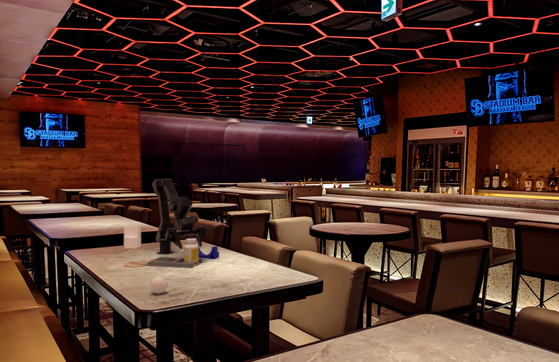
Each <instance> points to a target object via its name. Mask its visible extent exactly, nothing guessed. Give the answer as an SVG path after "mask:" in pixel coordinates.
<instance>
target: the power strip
mask: <svg viewBox="0 0 559 362" xmlns="http://www.w3.org/2000/svg"><path fill="white" fill-rule="evenodd" d="M201 263H203V258H199V264H201ZM147 267H162V268H163V267H164V268H183V269H185V268H186V269H188V268H189V269H193V268H194V267H195V266H194V263H184V257H182V256H181V257H180V256H179V257H178V256H177V257H176V256H158V257H156V258H152V259H149V261H148V265H147Z"/></svg>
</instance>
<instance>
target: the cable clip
mask: <svg viewBox="0 0 559 362" xmlns="http://www.w3.org/2000/svg"><path fill="white" fill-rule="evenodd" d="M197 245H198V246H199V244H197ZM218 250H219V247H218V246H216V245H215V246H211V251H210V252H209V253H208V254H207V253H204V252H203V251H202V250H201V247H200V246H199V258H202V259H205V260H206V259H208V260H216V259H219V258H220V251H218Z"/></svg>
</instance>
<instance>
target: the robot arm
mask: <svg viewBox="0 0 559 362" xmlns="http://www.w3.org/2000/svg"><path fill="white" fill-rule="evenodd" d="M152 189H153V192H154V194H155V195H156V196H157V199H158V210H159V219H160V224H159V226H158V228H157V229H158V231H157V233H156V236H155V241H156V242H157V243H159V251H157V252H156V254H160V255H161V254H162V255H163V254H164V255H169V254H172V253H174V252H175V251H174V250H172V243H173V244H174V245H175V246H177V248H179V249H180V250H183V244H182V242H181V239H180V236H193V235H194V236H195V239H197V241H196V243H198V244H197V245H199V247H200V248H202V246H203V238H205V236H206V234H207V232H208V227H207V226H206V225H202V226H200V225H199V226H197V228H196V229H194V225H195V224H197V223H198V222H199V216H198V215H195V214H194V215H192V216H188V214H189V213H190V211H191V209H192V206H193V201H192V200H191V199H190V198H188V197H187V196H179V195H178V192H177V190H176V189H175V185H174V184H173V180H172V179H171V178H161V179H159V178H158V179H154V181H152ZM170 213H174V214H173V221H175V223H176V227H175V224H174V223H173V222H172V221H171V218H170Z"/></svg>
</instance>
